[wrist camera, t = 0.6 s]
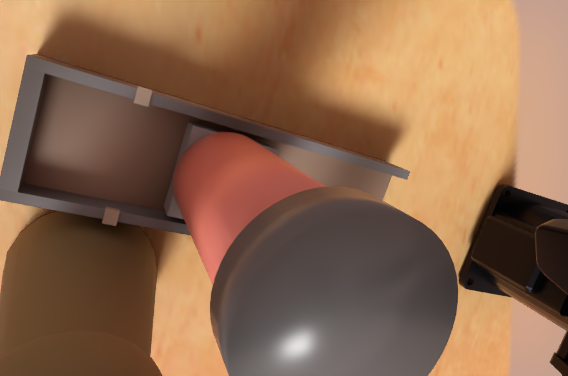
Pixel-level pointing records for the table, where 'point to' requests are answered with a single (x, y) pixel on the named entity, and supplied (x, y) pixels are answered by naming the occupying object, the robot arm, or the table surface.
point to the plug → (309, 266)
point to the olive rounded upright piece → (78, 299)
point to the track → (136, 147)
